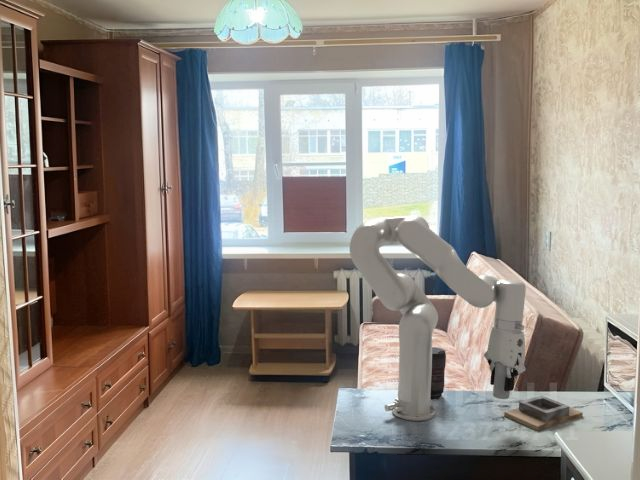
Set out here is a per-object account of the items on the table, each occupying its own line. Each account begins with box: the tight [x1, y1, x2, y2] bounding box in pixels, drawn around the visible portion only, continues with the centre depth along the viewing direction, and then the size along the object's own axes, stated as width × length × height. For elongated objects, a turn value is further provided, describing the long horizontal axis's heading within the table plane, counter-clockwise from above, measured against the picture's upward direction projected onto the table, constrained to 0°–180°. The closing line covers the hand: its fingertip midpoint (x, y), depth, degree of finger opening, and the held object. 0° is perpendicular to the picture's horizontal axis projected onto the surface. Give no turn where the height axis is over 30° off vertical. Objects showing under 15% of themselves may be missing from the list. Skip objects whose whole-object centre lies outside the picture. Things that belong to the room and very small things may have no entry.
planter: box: [492, 362, 513, 400], centre depth 191 cm, size 4×4×10 cm
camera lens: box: [430, 346, 447, 401], centre depth 214 cm, size 8×8×15 cm
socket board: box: [503, 395, 584, 431], centre depth 200 cm, size 20×12×4 cm, turn 122°
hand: (501, 386), depth 192 cm, fingers closed on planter, 4 cm apart
